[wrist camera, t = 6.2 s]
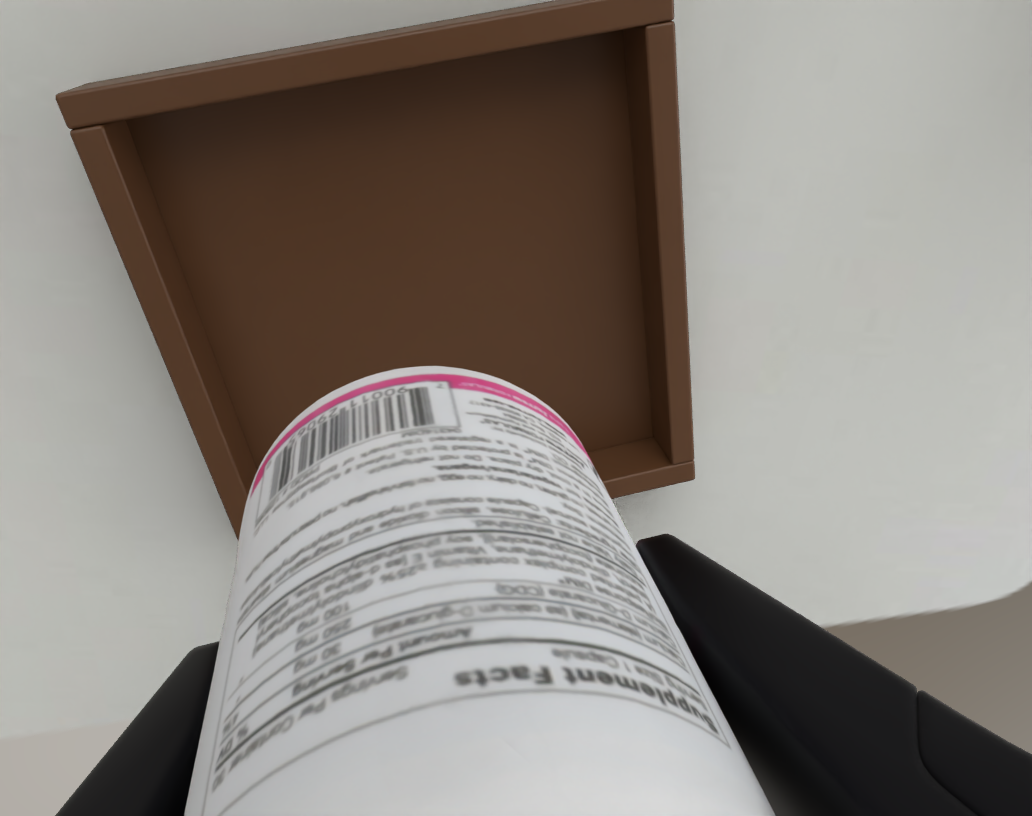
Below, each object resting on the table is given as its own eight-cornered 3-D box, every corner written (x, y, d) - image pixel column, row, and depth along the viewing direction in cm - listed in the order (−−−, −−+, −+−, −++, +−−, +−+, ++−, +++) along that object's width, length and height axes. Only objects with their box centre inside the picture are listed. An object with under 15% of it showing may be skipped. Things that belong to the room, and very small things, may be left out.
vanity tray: (669, 442, 22) (696, 480, 20) (262, 535, 21) (254, 583, 19) (641, -15, 16) (674, -16, 14) (85, 83, 15) (52, 95, 14)
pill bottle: (533, 657, 12) (785, 1597, 5) (221, 623, 11) (-40, 1848, 4) (644, 396, 11) (1287, 1296, 3) (285, 315, 9) (11, 1575, 2)
